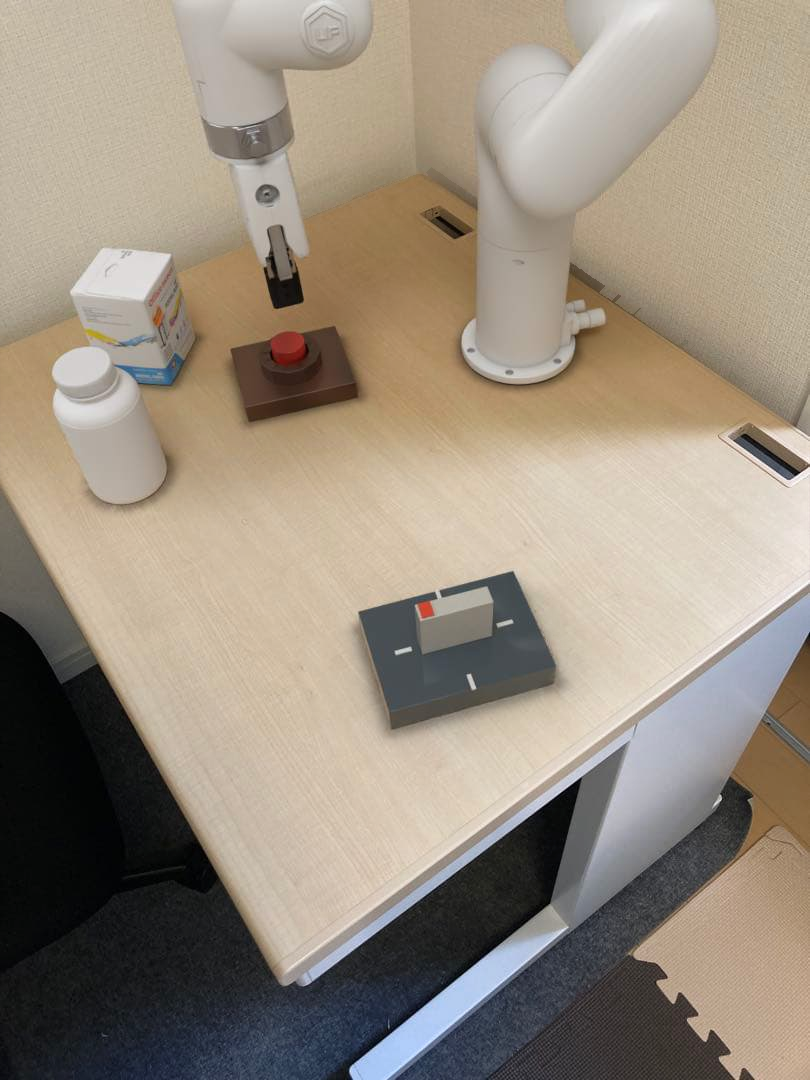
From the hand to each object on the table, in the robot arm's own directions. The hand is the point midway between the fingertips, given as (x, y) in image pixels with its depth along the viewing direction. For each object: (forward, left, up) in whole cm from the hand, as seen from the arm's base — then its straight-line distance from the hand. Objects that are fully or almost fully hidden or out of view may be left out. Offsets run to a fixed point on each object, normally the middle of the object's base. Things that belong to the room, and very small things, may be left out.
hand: (287, 301), depth 92 cm
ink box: (+16, -9, -11) cm, 21 cm away
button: (+1, 0, -7) cm, 7 cm away
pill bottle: (+20, +9, -11) cm, 24 cm away
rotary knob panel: (-5, +39, -10) cm, 41 cm away
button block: (+1, 0, -10) cm, 10 cm away
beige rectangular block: (-5, +39, -7) cm, 40 cm away
